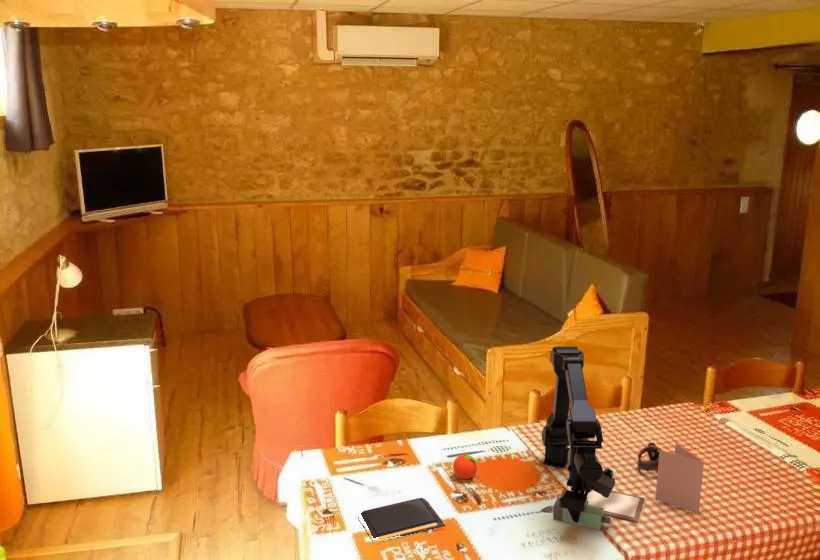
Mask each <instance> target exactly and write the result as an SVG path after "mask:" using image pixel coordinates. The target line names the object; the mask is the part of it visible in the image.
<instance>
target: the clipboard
mask: <svg viewBox="0 0 820 560" xmlns="http://www.w3.org/2000/svg"><path fill="white" fill-rule="evenodd" d="M587 501H588V505H593V506H597V507H601V508H604V516H605V515H606V516H605V517H609V516H611V517H610V518H613V517H615V518H614V519H618V518H619V519H618V520H622V521H623V520H624V521H626V520H627V522H631V523H635V522H636V523H635V524H638V523H639V522H638V521H639V519H640V514H641V512H640V511H642V508H643V504H644V502H643V501H645V497H642V496H637V495H633V494H629V493H628V494H627V493H622V492H618V491H613V490H612V491H611V493H610V495H609V497H608V498H605V497H603V496H602V495H601V494H599V493H597V492H596V491H594V490H592V491H591V492H589V493H588V496H587Z"/></svg>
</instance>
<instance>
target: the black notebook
mask: <svg viewBox="0 0 820 560" xmlns="http://www.w3.org/2000/svg"><path fill="white" fill-rule="evenodd" d="M426 500H427V499H426V498H423V497H418V498H414V499H409V500H404V501H401V502H396V503H391V504H387V505H384V506H379V507H375V508H370V509H366V510H362V511H363V512H362V511H361V512H362V513H361V515H362V517H363V519H364V521H365V522H366V524H367V526H368V528H369V530H370V532H371V535H372V536H373V538H376V537H379V539H385V538H390V537H395V536H399V535H400V536H405V537H407V536H406V535H409V536H411V535H410V534H412V535H415V534H414V533H416V534H419V533H418V532H420V531H422V529H427V530H428V531H430V530H429V529H432V530H435V529H434V528H436V529H439V528H443V527H446V524H445V523H444V522H443V521H442V519H441V517H440V516H439V515H438V514H437V512H436V510H435V509H434V508H433V507H432V506H430V505H431V504H430V503H429V501H426ZM420 533H421V532H420Z"/></svg>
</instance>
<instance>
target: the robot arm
mask: <svg viewBox="0 0 820 560" xmlns="http://www.w3.org/2000/svg"><path fill="white" fill-rule="evenodd" d="M549 360H550V364H551V365H552V368H553V372H554V373H555V384H554V385H555V386H554V394H553V395H554V396H553V408H552V412H551V414H550V415H549V416H548V417H547V418H546V420H545V426H543V429H542V431H541V440H542V444H543V446H544V460H542V464H543V465H547V466H552V467H556V468H557V467H558V468H561V469H562V468H563V469H564V468H567V470H566V471H567V472H568V479H567V481H566V486H567V487H571V488H570V489H565V490H564V491H563V492H562V493H561V494H560V496H559V498H560V499H559V506H560V507H562V508H566V509H568V511H569V513H570V515H571V517H572V519H573V521H574V522H576V523H578V521H579V517H580V513H581V512H583V511H584V510H585V508H586V506H587V504H588V501H587V496H588V493H589V492H591V491H592V490H594V491H596V492H597V493H599V494H601V495H602V496H603V497H605V498H608V497H609V495H610V493H611V491H613V489H614V487H615V485H616V477H614V472H613V470H612V469H610V468H609V467H607V468H606V469H603V467H602V464H601V462H600V460H599V458H598V456H597V454H596V450H599V449H600V450H601V449H603V445H602V444H603V442H604V437H603V432H602V425H601V423H600V420H599V419H598V418H597V415H596V411H595V409H594V408H592V407H591V405H590V404H589V401H588V400H589V399H588V394H587V388H586V383H585V382H586V381H585V378H584V371H583V370H584V366H585V352H584V351H582V350H580V349H579V348H578V346H576V345H575V346H574V345H569V346H561V345H560V346H557V345H556V346H554V347H552V350H550V353H549ZM595 438H596V439H595ZM590 439H595V440H590ZM567 464H568V466H567ZM566 466H567V467H566Z"/></svg>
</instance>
